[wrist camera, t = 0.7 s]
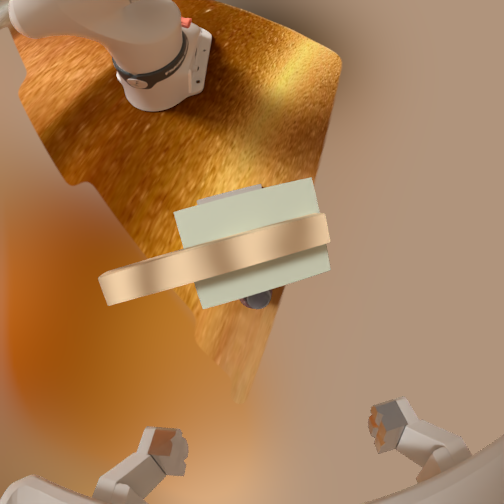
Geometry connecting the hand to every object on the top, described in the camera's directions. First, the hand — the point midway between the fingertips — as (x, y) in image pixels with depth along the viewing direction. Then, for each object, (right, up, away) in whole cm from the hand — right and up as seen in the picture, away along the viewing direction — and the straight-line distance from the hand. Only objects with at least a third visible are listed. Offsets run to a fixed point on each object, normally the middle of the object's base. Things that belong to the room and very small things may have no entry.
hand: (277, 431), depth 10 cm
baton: (-5, +7, +17) cm, 19 cm away
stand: (-4, +13, +43) cm, 45 cm away
